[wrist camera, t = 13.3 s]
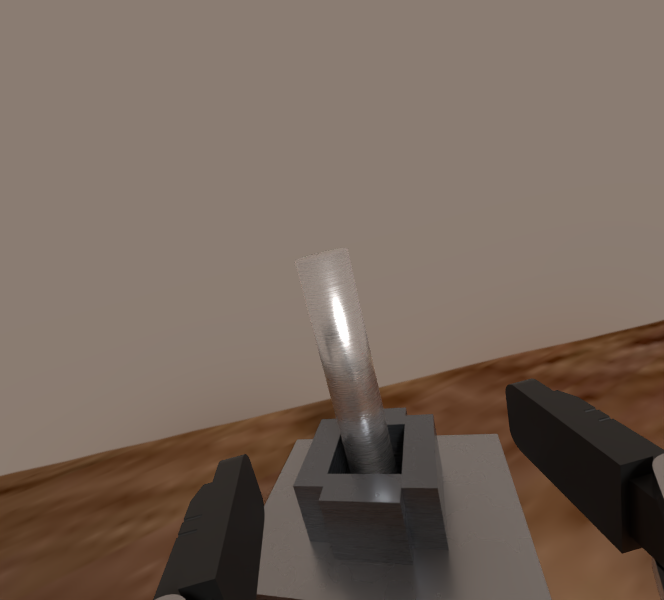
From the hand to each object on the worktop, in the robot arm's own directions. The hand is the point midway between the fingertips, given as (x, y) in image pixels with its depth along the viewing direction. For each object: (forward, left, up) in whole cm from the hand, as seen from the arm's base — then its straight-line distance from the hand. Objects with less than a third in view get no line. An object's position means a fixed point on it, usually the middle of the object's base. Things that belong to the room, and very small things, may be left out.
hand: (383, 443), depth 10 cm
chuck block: (-3, +8, -12) cm, 15 cm away
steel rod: (-3, +8, -11) cm, 14 cm away
